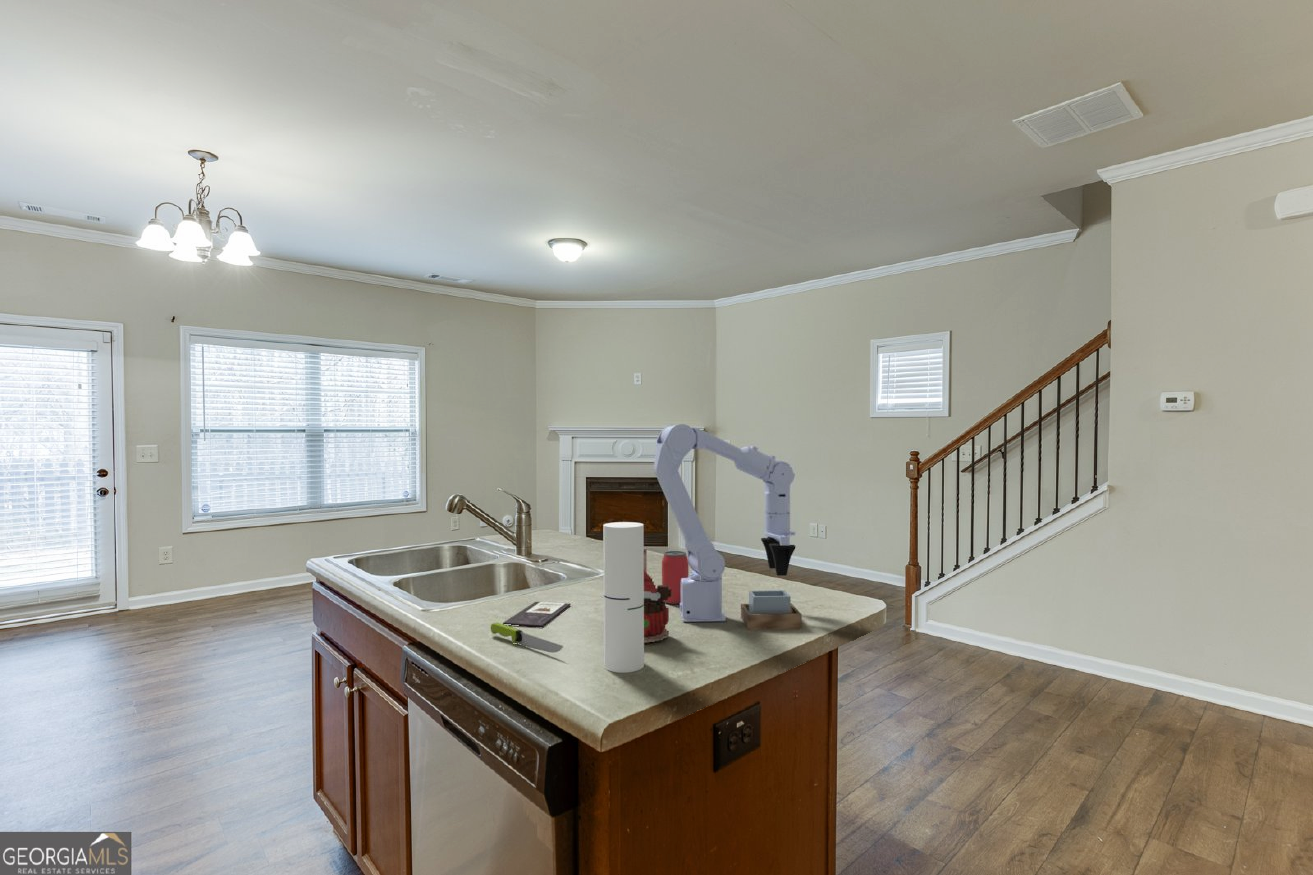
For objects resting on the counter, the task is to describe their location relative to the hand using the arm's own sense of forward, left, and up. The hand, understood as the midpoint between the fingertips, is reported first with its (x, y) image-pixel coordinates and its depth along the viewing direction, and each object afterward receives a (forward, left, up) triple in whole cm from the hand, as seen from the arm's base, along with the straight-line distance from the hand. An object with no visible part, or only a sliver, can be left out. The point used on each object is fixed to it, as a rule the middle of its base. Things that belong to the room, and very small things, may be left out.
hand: (777, 571), depth 145 cm
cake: (-31, -17, -10) cm, 37 cm away
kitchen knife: (-54, -21, -10) cm, 59 cm away
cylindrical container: (-35, -32, -10) cm, 48 cm away
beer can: (-23, +11, -10) cm, 27 cm away
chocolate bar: (-55, +1, -10) cm, 56 cm away
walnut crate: (-4, -8, -10) cm, 13 cm away
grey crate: (-4, -8, -9) cm, 13 cm away
